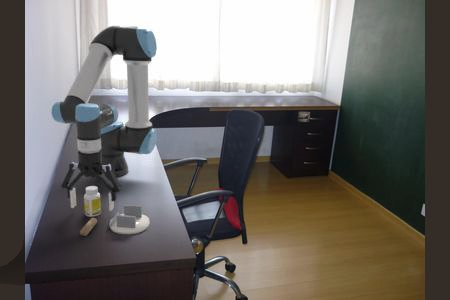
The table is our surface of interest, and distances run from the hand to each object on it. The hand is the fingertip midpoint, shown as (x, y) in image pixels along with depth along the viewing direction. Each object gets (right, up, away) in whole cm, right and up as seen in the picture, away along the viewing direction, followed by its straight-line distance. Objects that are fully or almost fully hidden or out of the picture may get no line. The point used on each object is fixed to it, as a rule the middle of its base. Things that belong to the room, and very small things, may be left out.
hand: (92, 207), depth 130 cm
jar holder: (+15, -5, -6) cm, 16 cm away
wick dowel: (+1, -4, -10) cm, 11 cm away
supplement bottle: (0, -2, +1) cm, 2 cm away
